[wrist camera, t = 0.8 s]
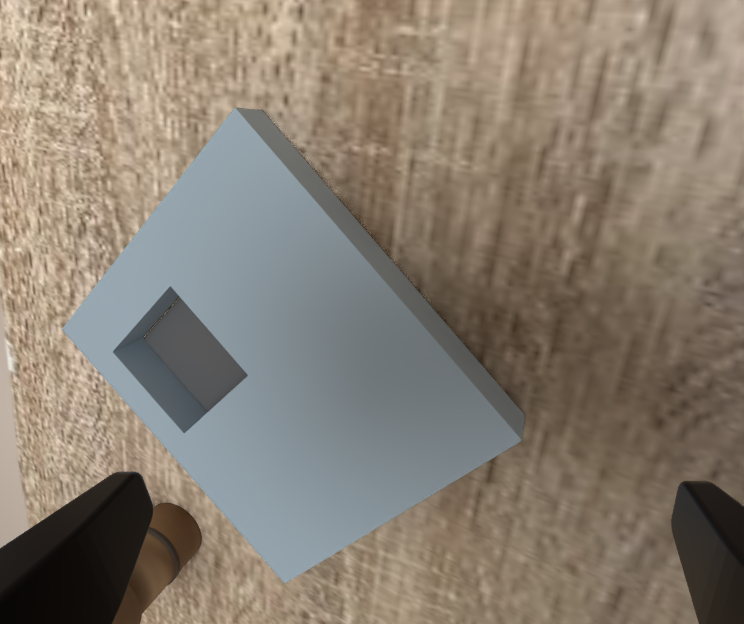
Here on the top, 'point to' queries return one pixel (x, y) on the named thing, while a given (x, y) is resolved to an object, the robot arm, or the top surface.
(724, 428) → the top surface
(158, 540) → the leg
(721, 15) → the top surface
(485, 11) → the top surface
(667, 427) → the top surface
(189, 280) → the seat board
